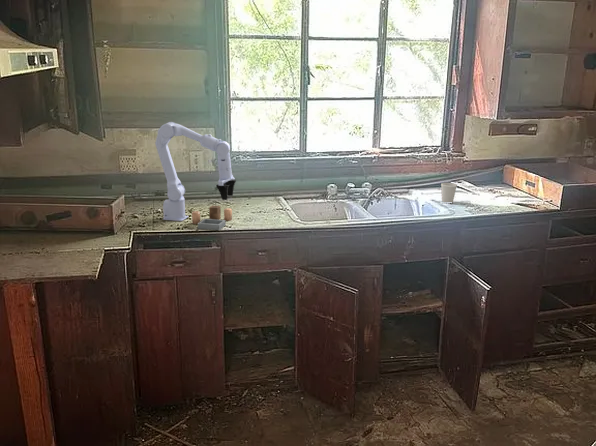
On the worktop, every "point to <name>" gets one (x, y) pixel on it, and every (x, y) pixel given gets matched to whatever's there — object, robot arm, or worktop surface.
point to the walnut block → (215, 212)
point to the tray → (211, 224)
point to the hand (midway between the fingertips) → (227, 197)
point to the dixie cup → (448, 191)
